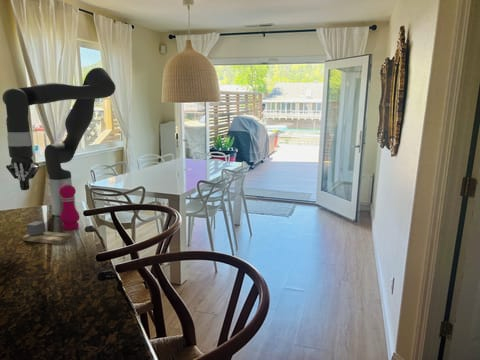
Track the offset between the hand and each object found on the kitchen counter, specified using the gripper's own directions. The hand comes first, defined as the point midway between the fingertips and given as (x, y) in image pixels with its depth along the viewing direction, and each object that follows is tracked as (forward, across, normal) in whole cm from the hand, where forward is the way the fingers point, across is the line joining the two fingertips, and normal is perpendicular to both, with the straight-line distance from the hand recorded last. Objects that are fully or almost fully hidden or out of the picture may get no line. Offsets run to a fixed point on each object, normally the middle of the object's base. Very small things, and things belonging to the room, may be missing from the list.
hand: (25, 189), depth 133 cm
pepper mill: (+19, +8, +13) cm, 25 cm away
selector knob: (+17, +3, 0) cm, 17 cm away
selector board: (+19, +8, 0) cm, 21 cm away
